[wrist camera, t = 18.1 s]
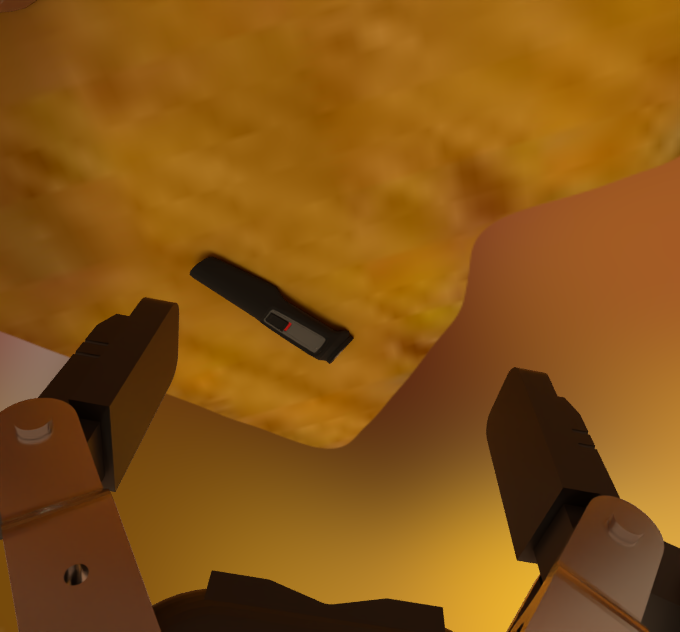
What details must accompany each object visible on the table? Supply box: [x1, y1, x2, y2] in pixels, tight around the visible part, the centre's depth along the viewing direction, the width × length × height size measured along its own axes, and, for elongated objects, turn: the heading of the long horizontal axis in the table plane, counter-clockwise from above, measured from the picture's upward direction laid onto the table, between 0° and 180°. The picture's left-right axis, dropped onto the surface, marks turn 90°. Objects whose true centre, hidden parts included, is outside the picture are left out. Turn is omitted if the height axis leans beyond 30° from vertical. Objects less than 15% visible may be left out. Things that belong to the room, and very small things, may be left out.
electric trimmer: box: [190, 257, 353, 364], centre depth 46 cm, size 4×16×3 cm, turn 54°
